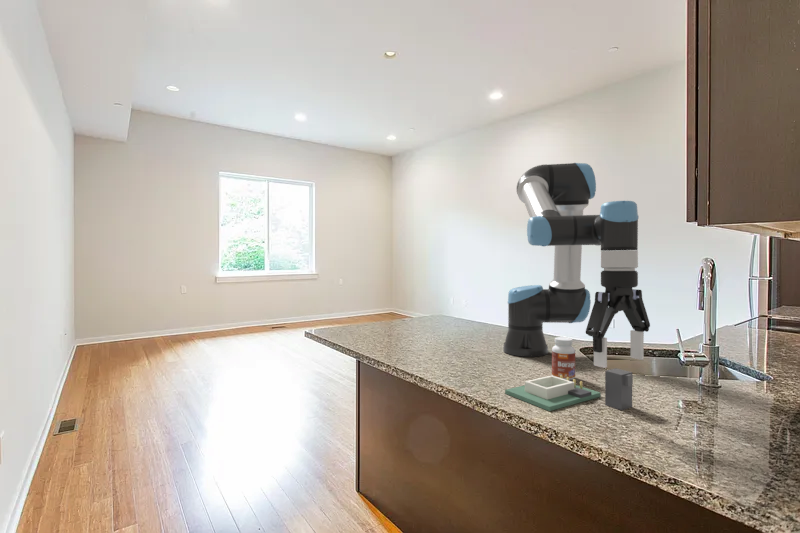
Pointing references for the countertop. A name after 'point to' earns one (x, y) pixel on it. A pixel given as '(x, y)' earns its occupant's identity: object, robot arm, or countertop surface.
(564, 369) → the pill bottle
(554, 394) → the header board
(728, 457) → the countertop surface
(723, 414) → the countertop surface
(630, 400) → the plug
